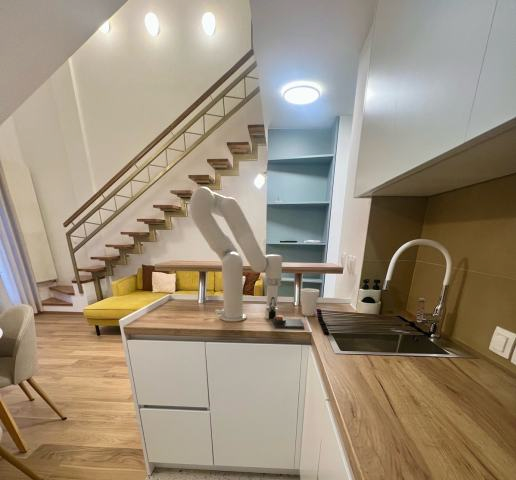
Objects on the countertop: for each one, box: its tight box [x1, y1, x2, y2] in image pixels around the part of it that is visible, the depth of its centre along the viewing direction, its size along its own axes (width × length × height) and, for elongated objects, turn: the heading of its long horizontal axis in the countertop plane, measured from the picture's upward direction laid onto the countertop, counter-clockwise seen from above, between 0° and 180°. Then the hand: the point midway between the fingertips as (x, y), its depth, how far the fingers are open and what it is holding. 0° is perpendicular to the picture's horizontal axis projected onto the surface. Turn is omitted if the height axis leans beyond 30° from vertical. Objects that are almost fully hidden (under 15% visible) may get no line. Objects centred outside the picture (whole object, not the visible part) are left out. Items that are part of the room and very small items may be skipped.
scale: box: [272, 317, 305, 330], centre depth 131 cm, size 14×11×3 cm
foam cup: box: [300, 287, 320, 317], centre depth 147 cm, size 10×9×13 cm
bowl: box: [264, 307, 280, 321], centre depth 141 cm, size 7×7×5 cm
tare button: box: [276, 314, 284, 320], centre depth 131 cm, size 3×3×2 cm
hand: (271, 316), depth 141 cm, fingers closed on bowl, 6 cm apart
